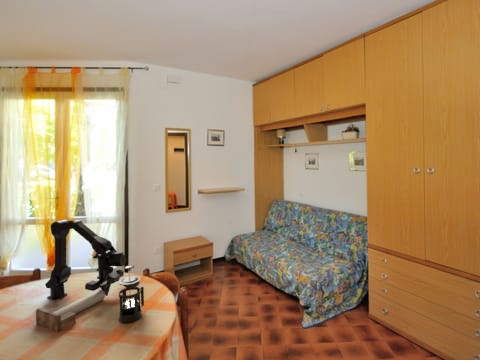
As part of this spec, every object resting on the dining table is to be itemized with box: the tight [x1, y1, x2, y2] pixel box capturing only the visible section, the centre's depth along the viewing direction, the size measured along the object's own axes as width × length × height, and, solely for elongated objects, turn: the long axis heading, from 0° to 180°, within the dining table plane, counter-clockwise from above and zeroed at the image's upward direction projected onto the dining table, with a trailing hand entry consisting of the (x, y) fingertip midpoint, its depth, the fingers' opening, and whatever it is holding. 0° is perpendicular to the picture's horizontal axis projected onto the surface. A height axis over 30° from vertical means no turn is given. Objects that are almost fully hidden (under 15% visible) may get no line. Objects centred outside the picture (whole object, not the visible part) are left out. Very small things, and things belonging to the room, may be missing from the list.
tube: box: [53, 288, 106, 316], centre depth 123 cm, size 5×5×25 cm
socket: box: [35, 307, 77, 333], centre depth 113 cm, size 14×8×7 cm, turn 67°
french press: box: [117, 264, 145, 325], centre depth 117 cm, size 12×9×23 cm
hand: (106, 295), depth 136 cm, fingers closed
